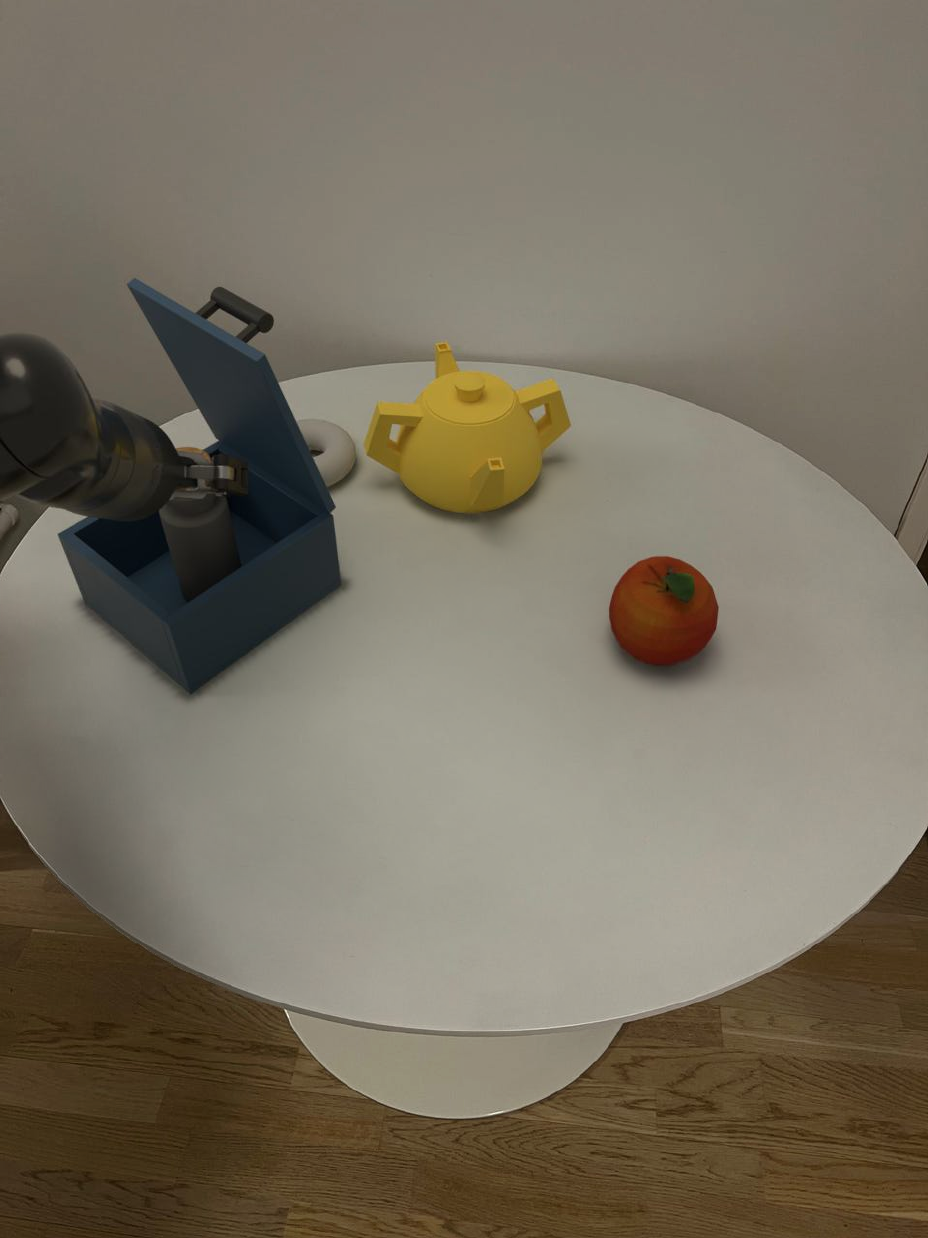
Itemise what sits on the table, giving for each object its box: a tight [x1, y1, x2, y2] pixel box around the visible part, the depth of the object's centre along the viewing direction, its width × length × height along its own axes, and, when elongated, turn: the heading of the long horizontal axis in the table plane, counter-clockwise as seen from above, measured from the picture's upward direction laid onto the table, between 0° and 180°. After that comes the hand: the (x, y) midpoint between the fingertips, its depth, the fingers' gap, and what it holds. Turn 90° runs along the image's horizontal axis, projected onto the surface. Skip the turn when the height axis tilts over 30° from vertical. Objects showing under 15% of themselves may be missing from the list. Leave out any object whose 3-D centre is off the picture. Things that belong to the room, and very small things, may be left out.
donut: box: [296, 418, 357, 488], centre depth 107 cm, size 10×4×10 cm
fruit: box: [608, 555, 720, 667], centre depth 88 cm, size 10×10×10 cm
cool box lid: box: [126, 277, 337, 514], centre depth 86 cm, size 19×16×5 cm
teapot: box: [363, 341, 572, 514], centre depth 103 cm, size 17×17×12 cm
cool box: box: [57, 440, 342, 695], centre depth 92 cm, size 18×16×9 cm
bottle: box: [159, 446, 242, 603], centre depth 89 cm, size 6×6×15 cm
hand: (174, 482), depth 83 cm, fingers open, 8 cm apart
